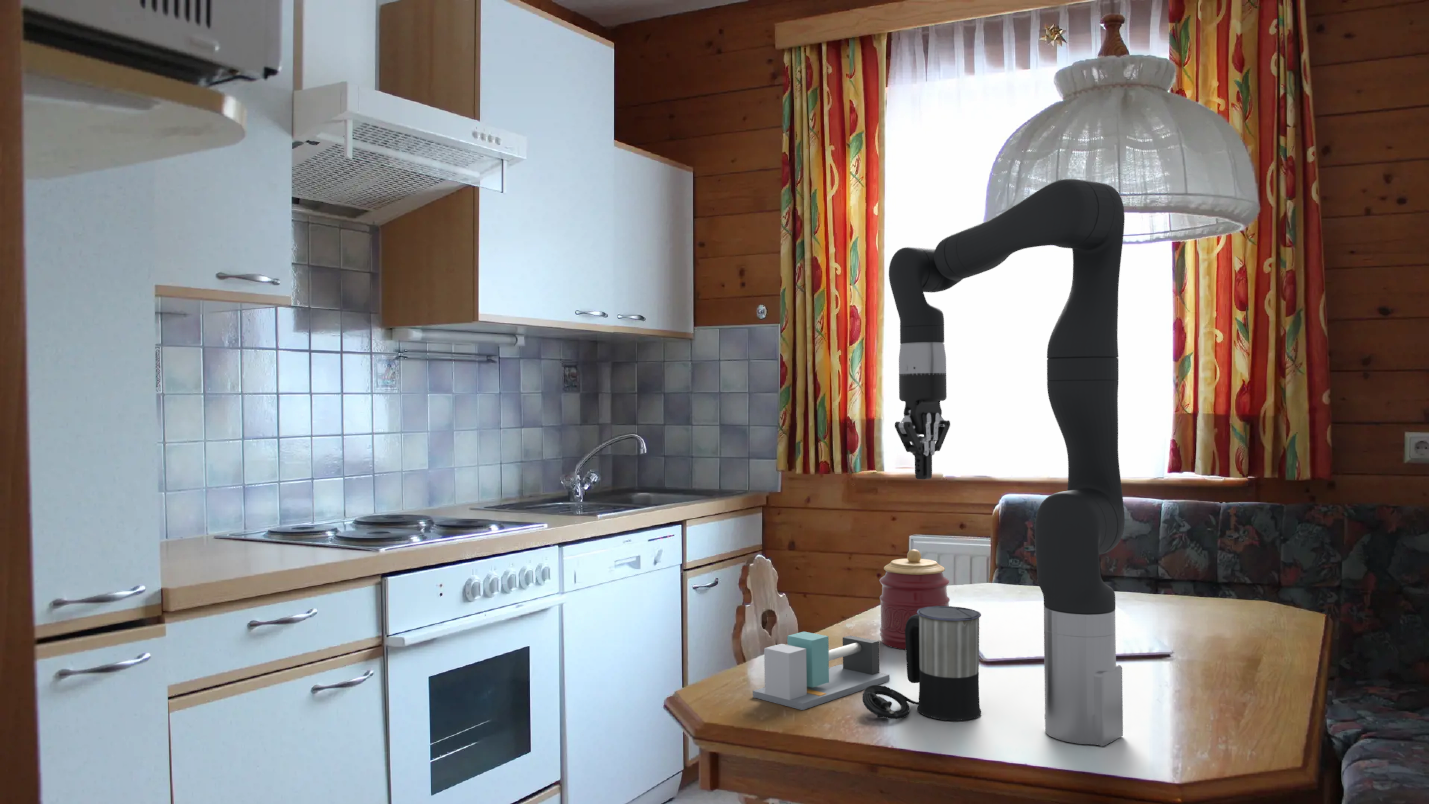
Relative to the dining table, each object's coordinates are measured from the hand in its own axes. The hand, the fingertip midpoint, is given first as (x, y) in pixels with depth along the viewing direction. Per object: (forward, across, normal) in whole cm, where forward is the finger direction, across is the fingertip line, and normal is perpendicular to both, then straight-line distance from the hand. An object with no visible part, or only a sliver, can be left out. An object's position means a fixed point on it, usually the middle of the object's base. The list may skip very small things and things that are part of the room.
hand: (923, 478), depth 169 cm
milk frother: (+33, -14, -9) cm, 37 cm away
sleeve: (+31, -18, +10) cm, 37 cm away
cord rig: (+33, -14, +10) cm, 37 cm away
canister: (+33, +22, +17) cm, 43 cm away
